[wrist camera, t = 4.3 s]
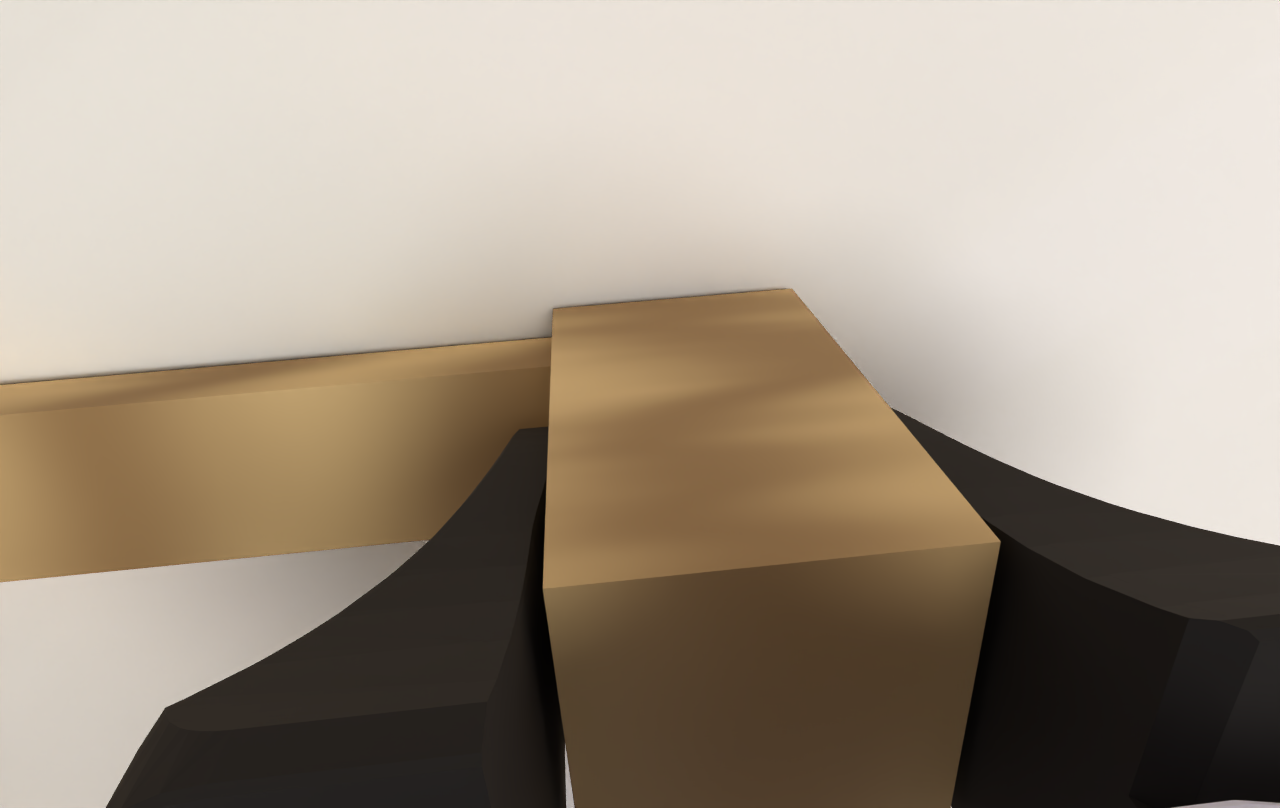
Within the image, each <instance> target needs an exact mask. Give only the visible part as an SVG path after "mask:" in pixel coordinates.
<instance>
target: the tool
mask: <svg viewBox="0 0 1280 808" xmlns="http://www.w3.org/2000/svg"><path fill="white" fill-rule="evenodd" d="M547 426H549V431H548V459H547V486H546V514H545V541H544V568H543V594H544V601H545V608H546V614H547V621H548V628H549V635H550V642H551V648H552V655H553V662H554V669H555V676H556V683H557V689H558V696H559V703H560V710H561V717H562V723H563V730H564V737H565V744H566V751H567V758H568V764H569V771H570V778H571V785H572V792H573V798H574V805H575V808H951V802H952V797H953V792H954V787H955V781H956V776H957V771H958V765H959V760H960V755H961V749H962V744H963V739H964V734H965V728H966V723H967V718H968V712H969V707H970V702H971V696H972V691H973V686H974V681H975V675H976V670H977V665H978V659H979V654H980V649H981V643H982V638H983V633H984V628H985V622H986V617H987V612H988V606H989V601H990V596H991V590H992V585H993V580H994V575H995V569H996V564H997V559H998V553H999V548H1000V543H1001V541H1000V540H999V539H998V538H997V536H996V535H995V534H994V533H993V532H992V530H991V529H990V528H989V527H988V526H987V524H986V523H985V522H984V521H983V520H982V518H981V517H980V516H979V515H978V513H977V512H976V511H975V510H974V509H973V507H972V506H971V505H970V504H969V503H968V501H967V500H966V499H965V498H964V497H963V495H962V494H961V493H960V492H959V490H958V489H957V488H956V487H955V486H954V484H953V483H952V482H951V481H950V480H949V478H948V477H947V476H946V475H945V473H944V472H943V471H942V470H941V469H940V467H939V466H938V465H937V464H936V463H935V461H934V460H933V459H932V458H931V457H930V455H929V454H928V453H927V452H926V450H925V449H924V448H923V447H922V446H921V444H920V443H919V442H918V441H917V440H916V438H915V437H914V436H913V435H912V434H911V432H910V431H909V430H908V429H907V427H906V426H905V425H904V424H903V423H902V421H901V420H900V419H899V418H898V417H897V415H896V414H895V413H894V412H893V411H892V409H891V408H890V407H889V406H888V404H887V403H886V402H885V401H884V400H883V398H882V397H881V396H880V395H879V394H878V392H877V391H876V390H875V389H874V388H873V386H872V385H871V384H870V383H869V381H868V380H867V379H866V378H865V377H864V375H863V374H862V373H861V372H860V371H859V369H858V368H857V367H856V366H855V365H854V363H853V362H852V361H851V360H850V358H849V357H848V356H847V355H846V354H845V352H844V351H843V350H842V349H841V348H840V346H839V345H838V344H837V343H836V342H835V340H834V339H833V338H832V337H831V335H830V334H829V333H828V332H827V331H826V329H825V328H824V327H823V326H822V325H821V323H820V322H819V321H818V320H817V318H816V317H815V316H814V315H813V314H812V312H811V311H810V310H809V309H808V308H807V306H806V305H805V304H804V303H803V302H802V300H801V299H800V298H799V297H798V295H797V294H796V293H795V292H794V291H793V289H781V290H769V291H757V292H745V293H733V294H722V295H710V296H698V297H686V298H674V299H663V300H651V301H639V302H627V303H615V304H604V305H592V306H580V307H568V308H556V309H553V321H552V337H550V338H538V339H527V340H515V341H504V342H492V343H480V344H469V345H457V346H446V347H434V348H423V349H411V350H400V351H388V352H377V353H365V354H353V355H342V356H330V357H319V358H307V359H296V360H284V361H273V362H261V363H250V364H238V365H226V366H215V367H203V368H192V369H180V370H169V371H157V372H146V373H134V374H123V375H111V376H99V377H88V378H76V379H65V380H53V381H42V382H30V383H19V384H7V385H0V582H7V581H18V580H28V579H38V578H48V577H58V576H68V575H78V574H88V573H98V572H108V571H118V570H128V569H138V568H149V567H159V566H169V565H179V564H189V563H199V562H209V561H219V560H229V559H239V558H249V557H259V556H269V555H280V554H290V553H300V552H310V551H320V550H330V549H340V548H350V547H360V546H370V545H380V544H390V543H400V542H411V541H421V540H430V539H431V538H432V537H433V536H434V535H435V534H436V533H437V532H438V531H439V530H440V529H441V528H442V527H443V525H444V524H445V523H446V522H447V521H448V520H449V519H450V518H451V517H452V515H453V514H454V513H455V512H456V511H457V510H458V509H459V508H460V507H461V505H462V504H463V503H464V502H465V501H466V499H467V498H468V497H469V496H470V494H471V493H472V492H473V490H474V489H475V488H476V487H477V485H478V484H479V483H480V481H481V480H482V479H483V478H484V476H485V475H486V474H487V472H488V471H489V470H490V468H491V467H492V465H493V464H494V463H495V461H496V460H497V458H498V457H499V456H500V454H501V453H502V451H503V450H504V448H505V447H506V445H507V444H508V442H509V441H510V439H511V438H512V437H513V435H514V434H515V433H516V432H517V431H518V430H519V429H526V428H537V427H547Z"/></svg>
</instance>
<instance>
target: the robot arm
mask: <svg viewBox="0 0 1280 808" xmlns="http://www.w3.org/2000/svg"><path fill="white" fill-rule="evenodd" d="M890 408H891V407H890ZM891 409H892V411H893V412H894V413H895V414H896V415H897V417H898V418H899V419H900V420H901V421H902V423H903V424H904V425H905V426H906V427H907V429H908V430H909V431H910V432H911V434H912V435H913V436H914V437H915V438H916V440H917V441H918V442H919V443H920V444H921V446H922V447H923V448H924V449H925V450H926V452H927V453H928V454H929V455H930V457H931V458H932V459H933V460H934V461H935V463H936V464H937V465H938V466H939V467H940V469H941V470H942V471H943V472H944V473H945V475H946V476H947V477H948V478H949V480H950V481H951V482H952V483H953V484H954V486H955V487H956V488H957V489H958V490H959V492H960V493H961V494H962V495H963V497H964V498H965V499H966V500H967V501H968V503H969V504H970V505H971V506H972V507H973V509H974V510H975V511H976V512H977V513H978V515H979V516H980V517H981V518H982V520H983V521H984V522H985V523H986V524H987V526H988V527H989V528H990V529H991V530H992V532H993V533H994V534H995V535H996V536H997V538H998V539H999V540H1000V541H1001V543H1000V548H999V553H998V559H997V564H996V569H995V575H994V580H993V585H992V590H991V596H990V601H989V606H988V612H987V617H986V622H985V628H984V633H983V638H982V643H981V649H980V654H979V659H978V665H977V670H976V675H975V681H974V686H973V691H972V696H971V702H970V707H969V712H968V718H967V723H966V728H965V734H964V739H963V744H962V749H961V755H960V760H959V765H958V771H957V776H956V781H955V787H954V792H953V797H952V802H951V807H952V808H1280V546H1279V545H1274V544H1269V543H1264V542H1258V541H1253V540H1248V539H1243V538H1238V537H1234V536H1229V535H1225V534H1221V533H1216V532H1212V531H1208V530H1203V529H1199V528H1195V527H1191V526H1187V525H1184V524H1180V523H1176V522H1172V521H1169V520H1165V519H1161V518H1158V517H1154V516H1150V515H1147V514H1143V513H1139V512H1136V511H1133V510H1129V509H1126V508H1123V507H1119V506H1116V505H1113V504H1110V503H1107V502H1104V501H1101V500H1098V499H1095V498H1092V497H1089V496H1087V495H1084V494H1081V493H1078V492H1075V491H1072V490H1069V489H1067V488H1064V487H1061V486H1058V485H1055V484H1053V483H1050V482H1048V481H1045V480H1043V479H1040V478H1038V477H1035V476H1033V475H1030V474H1028V473H1026V472H1023V471H1021V470H1019V469H1016V468H1014V467H1012V466H1010V465H1007V464H1005V463H1003V462H1000V461H998V460H996V459H994V458H991V457H989V456H987V455H985V454H983V453H981V452H979V451H976V450H974V449H972V448H970V447H968V446H966V445H964V444H962V443H960V442H958V441H956V440H954V439H952V438H950V437H948V436H946V435H944V434H942V433H940V432H938V431H936V430H934V429H932V428H930V427H928V426H926V425H924V424H922V423H920V422H918V421H916V420H915V419H913V418H911V417H909V416H907V415H905V414H903V413H901V412H899V411H897V410H895V409H893V408H891ZM548 431H549V426H547V427H537V428H526V429H519V430H518V431H517V432H516V433H515V434H514V435H513V437H512V438H511V439H510V441H509V442H508V444H507V445H506V447H505V448H504V450H503V451H502V453H501V454H500V456H499V457H498V458H497V460H496V461H495V463H494V464H493V465H492V467H491V468H490V470H489V471H488V472H487V474H486V475H485V476H484V478H483V479H482V480H481V481H480V483H479V484H478V485H477V487H476V488H475V489H474V490H473V492H472V493H471V494H470V496H469V497H468V498H467V499H466V501H465V502H464V503H463V504H462V505H461V507H460V508H459V509H458V510H457V511H456V512H455V513H454V514H453V515H452V517H451V518H450V519H449V520H448V521H447V522H446V523H445V524H444V525H443V527H442V528H441V529H440V530H439V531H438V532H437V533H436V534H435V535H434V536H433V537H432V538H431V539H430V540H429V541H428V542H427V543H426V544H425V545H424V546H423V547H422V548H421V549H420V550H419V551H418V552H417V553H415V554H414V555H413V556H412V557H411V558H410V559H409V560H407V561H406V562H405V563H404V564H403V565H402V566H401V567H399V568H398V569H397V570H396V571H395V572H394V573H392V574H391V575H390V576H389V577H387V578H386V579H385V580H383V581H382V582H381V583H379V584H378V585H377V586H375V587H374V588H373V589H371V590H370V591H368V592H367V593H366V594H364V595H363V596H362V597H360V598H359V599H358V600H356V601H355V602H354V603H352V604H351V605H349V606H348V607H347V608H345V609H344V610H343V611H341V612H340V613H338V614H337V615H336V616H334V617H333V618H331V619H329V620H328V621H326V622H325V623H323V624H322V625H320V626H318V627H317V628H315V629H314V630H312V631H311V632H309V633H307V634H306V635H304V636H303V637H301V638H299V639H297V640H296V641H294V642H292V643H291V644H289V645H287V646H286V647H284V648H282V649H280V650H279V651H277V652H275V653H274V654H272V655H270V656H268V657H266V658H265V659H263V660H261V661H259V662H257V663H256V664H254V665H252V666H250V667H248V668H246V669H244V670H242V671H240V672H238V673H236V674H234V675H232V676H230V677H228V678H226V679H224V680H222V681H220V682H218V683H216V684H214V685H212V686H210V687H208V688H206V689H204V690H202V691H200V692H198V693H196V694H194V695H192V696H190V697H188V698H186V699H184V700H181V701H179V702H177V703H175V704H173V705H170V706H168V707H166V708H165V709H164V711H163V712H162V714H161V715H160V717H159V718H158V720H157V722H156V723H155V725H154V726H153V728H152V729H151V731H150V732H149V734H148V735H147V737H146V739H145V740H144V742H143V743H142V745H141V746H140V748H139V749H138V751H137V753H136V755H135V756H134V758H133V760H132V762H131V763H130V765H129V767H128V769H127V771H126V772H125V774H124V776H123V778H122V780H121V781H120V783H119V785H118V787H117V789H116V790H115V792H114V794H113V796H112V798H111V799H110V801H109V803H108V805H107V807H106V808H566V784H565V737H564V730H563V723H562V717H561V710H560V703H559V696H558V689H557V683H556V676H555V669H554V662H553V655H552V648H551V642H550V635H549V628H548V621H547V614H546V608H545V601H544V594H543V568H544V541H545V514H546V486H547V459H548Z"/></svg>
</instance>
